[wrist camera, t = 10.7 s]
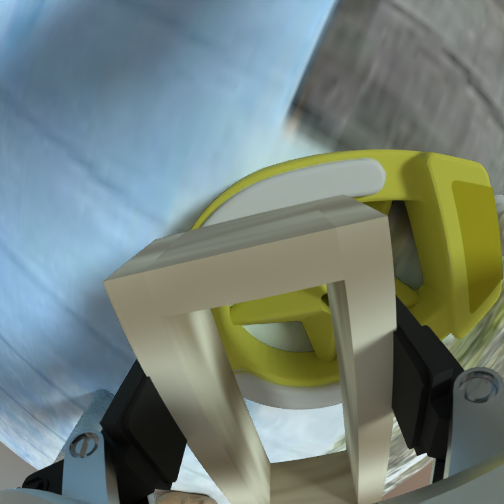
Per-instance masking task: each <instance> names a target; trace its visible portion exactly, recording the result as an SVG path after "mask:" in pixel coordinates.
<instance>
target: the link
mask: <svg viewBox="0 0 504 504" xmlns="http://www.w3.org/2000/svg"><path fill="white" fill-rule="evenodd" d="M103 284H104V286H105V289H106V291H107V294H108V296H109V298H110V301H111V303H112V306H113V308H114V310H115V312H116V315H117V317H118V319H119V322H120V324H121V326H122V328H123V330H124V332H125V335H126V337H127V339H128V341H129V343H130V345H131V347H132V349H133V351H134V353H135V355H136V357H137V359H138V361H139V363H140V365H141V367H142V369H143V371H144V373H145V374H146V376H150V378H151V380H152V382H153V384H154V386H155V387H156V389H157V391H158V393H159V395H160V396H161V398H162V400H163V402H164V403H165V405H166V407H167V408H168V410H169V412H170V413H171V415H172V417H173V418H174V420H175V422H176V423H177V425H178V427H179V428H180V430H181V431H182V433H183V434H184V436H185V438H186V439H187V445H188V446H189V448H190V449H191V451H192V452H193V454H194V455H195V456H196V458H197V459H198V461H199V462H200V463H201V465H202V466H203V468H204V469H205V470H206V472H207V473H208V475H209V476H210V477H211V479H212V480H213V481H214V482H215V484H216V485H217V486H218V488H219V489H220V490H221V492H222V493H223V494H224V495H225V497H226V498H227V499H228V500H229V502H230V503H231V504H373V503H377V502H380V501H381V499H382V494H383V489H384V484H385V478H386V472H387V466H388V459H389V452H390V444H391V436H392V427H393V416H394V412H393V410H392V407H391V406H392V387H393V332H394V331H397V327H396V297H395V281H394V267H393V256H392V246H391V237H390V229H389V221H388V216H387V215H385V214H383V213H381V212H379V211H377V210H375V209H373V208H371V207H369V206H367V205H365V204H363V203H361V202H359V201H357V200H355V199H353V198H351V197H349V196H346V195H344V194H343V195H338V196H333V197H329V198H324V199H319V200H315V201H310V202H306V203H301V204H297V205H292V206H288V207H284V208H279V209H275V210H271V211H267V212H262V213H258V214H254V215H250V216H246V217H241V218H237V219H233V220H229V221H225V222H221V223H217V224H213V225H209V226H205V227H201V228H197V229H194V230H190V231H186V232H182V233H178V234H174V235H171V236H167V237H163V238H159V239H156V240H154V241H153V242H152V243H150V244H149V245H148V246H146V247H145V248H144V249H143V250H141V251H140V252H139V253H137V254H136V255H135V256H134V257H132V258H131V259H130V260H129V261H127V262H126V263H125V264H124V265H122V266H121V267H120V268H119V269H118V270H116V271H115V272H114V273H113V274H111V275H110V276H109V277H108V278H107V279H105V280H104V281H103ZM324 284H326V287H327V293H328V299H329V305H330V311H331V318H332V324H333V331H334V338H335V345H336V353H337V361H338V369H339V377H340V386H341V395H342V404H343V415H344V426H345V438H346V450H345V451H340V452H336V453H331V454H326V455H321V456H316V457H311V458H305V459H299V460H292V461H285V462H278V463H270V461H269V459H268V457H267V455H266V452H265V450H264V448H263V445H262V443H261V441H260V438H259V436H258V433H257V431H256V429H255V426H254V424H253V421H252V419H251V416H250V414H249V411H248V409H247V407H246V404H245V401H244V399H243V396H242V394H241V391H240V389H239V386H238V384H237V381H236V378H235V376H234V373H233V370H232V368H231V365H230V362H229V360H228V357H227V354H226V352H225V349H224V346H223V343H222V341H221V338H220V335H219V332H218V329H217V327H216V324H215V321H214V318H213V315H212V312H211V308H216V307H221V306H226V305H231V304H236V303H241V302H246V301H251V300H256V299H261V298H266V297H270V296H275V295H280V294H284V293H289V292H293V291H298V290H302V289H307V288H311V287H315V286H320V285H324Z"/></svg>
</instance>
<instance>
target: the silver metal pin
mask: <svg viewBox="0 0 504 504" xmlns="http://www.w3.org/2000/svg"><path fill="white" fill-rule="evenodd" d="M113 398H114V395H112V394H111V393H110V392H108V391H105V390H98V391H97V392H96V394H95V396H94V397H93V399H92V400H91V402H90V404H89V405H88V407H87V408H86V410H85V411H84V413H83V415H82V416H81V418H80V420H79V421H78V423H77V424H76V426H75V428H74V429H73V431H72V433H71V434H70V436H69V438H68V439H67V441H66V443H65V444H64V446H63V448H62V449H61V451H60V453H59V454H58V456H57V458H56V460H55V461H54V463H56V462H58V461H60V460H62V459H64V456H65V448H66V444H67V443H68V441H69V440H70V438H72V437H73V436H74V435H75V434H76V433H78V432H80V431H83V430H86V429H96V430H98V431H100V432H101V430H102V428H103V427H102V426H101V425H100V421H101V420H102V418H103V416H104V414H105V412H106V411H107V409H108V407H109V405H110V404H111V402H112V400H113ZM54 463H53V464H54Z"/></svg>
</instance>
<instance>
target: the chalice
mask: <svg viewBox="0 0 504 504" xmlns="http://www.w3.org/2000/svg"><path fill="white" fill-rule="evenodd" d="M494 197H495V203H496V210H497V216H498V224H499V232H500V242H501V254H502V256H504V196H503V195H495V196H494Z"/></svg>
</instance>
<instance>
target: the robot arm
mask: <svg viewBox="0 0 504 504" xmlns="http://www.w3.org/2000/svg"><path fill="white" fill-rule="evenodd" d="M395 297H396V327H397V331H394V332H393V387H392V406H391V407H392V410H393V412H394V414H395V417H396V419H397V422H398V424H399V427H400V429H401V432H402V434H403V437H404V439H405V442H406V444H407V447H408V448H409V449H412V448H414V449H415V452H416V454H417V456H419V455H421V454H424V453H427V455H428V456H429V457H433V458H434V461H433V467H432V473H431V479H430V484H429V485H428V486H425V487H422V488H420V489H417V490H414V491H411V492H409V493H406V494H403V495H400V496H397V497H393V498H390V499H387V500H384V501H380V502H377V503H373V504H504V381H503V379H502V377H501V376H500V375H499V374H498V373H497V372H496V371H494V370H492V369H489V368H486V367H475V368H470V369H468V370H466V371H464V369H463V368H462V367H461V366H460V364H459V363H458V362H457V360H456V359H455V358H454V357H453V355H452V354H451V353H450V352H449V350H448V349H447V348H446V347H445V345H444V344H443V343H442V342H441V340H440V339H439V338H438V337H437V335H436V334H435V333H434V332H433V331H432V329H431V328H430V327H429V326H428V325H424V326H421V324H420V323H419V322H418V321H417V319H416V318H415V317H414V316H413V315H412V313H411V312H410V311H409V310H408V309H407V307H406V306H405V305H404V304H403V303H402V301H401V300H400V299H399V298H398V297H397V295H395ZM100 425H101V426H102V427H103V428H102V430H101V432H100V431H98V430H96V429H86V430H83V431H80V432H78V433H76V434H75V435H74V436H73V437H72V438H70V440H69V441H68V443H67V444H66V448H65V456H64V459H62V460H60V461H58V462H56V463H54V464H52V465H50V466H48V467H46V468H43V469H41V470H39V471H37V472H35V473H33V474H31V475H29V476H28V477H27V478H26V479H25V481H24V483H23V485H22V488H21V487H18V488H16V489H6V490H2V491H0V504H156V502H155V498H154V494H153V492H154V490H155V489H161V490H171V486H172V482H176V480H177V478H178V474H179V470H180V466H181V462H182V458H183V455H184V451H185V447H186V443H187V439H186V438H185V436H184V434H183V433H182V431H181V430H180V428H179V427H178V425H177V423H176V422H175V420H174V418H173V417H172V415H171V413H170V412H169V410H168V408H167V407H166V405H165V403H164V402H163V400H162V398H161V396H160V395H159V393H158V391H157V389H156V387H155V386H154V384H153V382H152V380H151V378H150V376H146V374H145V373H144V371H143V369H142V367H141V365H140V363H139V361H138V359H136V361H135V363H134V364H133V366H132V368H131V369H130V371H129V373H128V374H127V376H126V378H125V379H124V381H123V383H122V385H121V386H120V388H119V390H118V391H117V393H116V395H115V397H114V398H113V400H112V402H111V404H110V405H109V407H108V409H107V411H106V412H105V414H104V416H103V418H102V420H101V421H100Z"/></svg>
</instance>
